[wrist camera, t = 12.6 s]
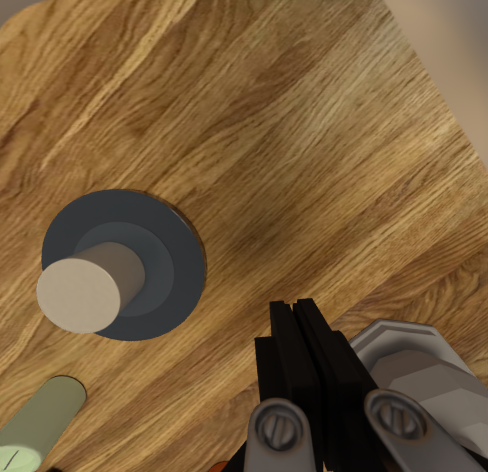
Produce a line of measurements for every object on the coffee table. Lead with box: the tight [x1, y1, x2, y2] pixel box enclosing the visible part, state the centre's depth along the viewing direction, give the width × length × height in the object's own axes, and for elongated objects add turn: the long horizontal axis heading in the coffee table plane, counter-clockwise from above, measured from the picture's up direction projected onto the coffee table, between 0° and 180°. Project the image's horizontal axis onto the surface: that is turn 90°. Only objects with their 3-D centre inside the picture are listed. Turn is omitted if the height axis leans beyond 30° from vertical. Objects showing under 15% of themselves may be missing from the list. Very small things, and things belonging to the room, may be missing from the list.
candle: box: [0, 376, 86, 472], centre depth 24 cm, size 5×5×8 cm
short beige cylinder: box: [36, 242, 145, 334], centre depth 21 cm, size 6×6×5 cm
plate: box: [41, 189, 207, 341], centre depth 24 cm, size 16×16×2 cm
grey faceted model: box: [348, 319, 488, 459], centre depth 22 cm, size 20×15×15 cm
